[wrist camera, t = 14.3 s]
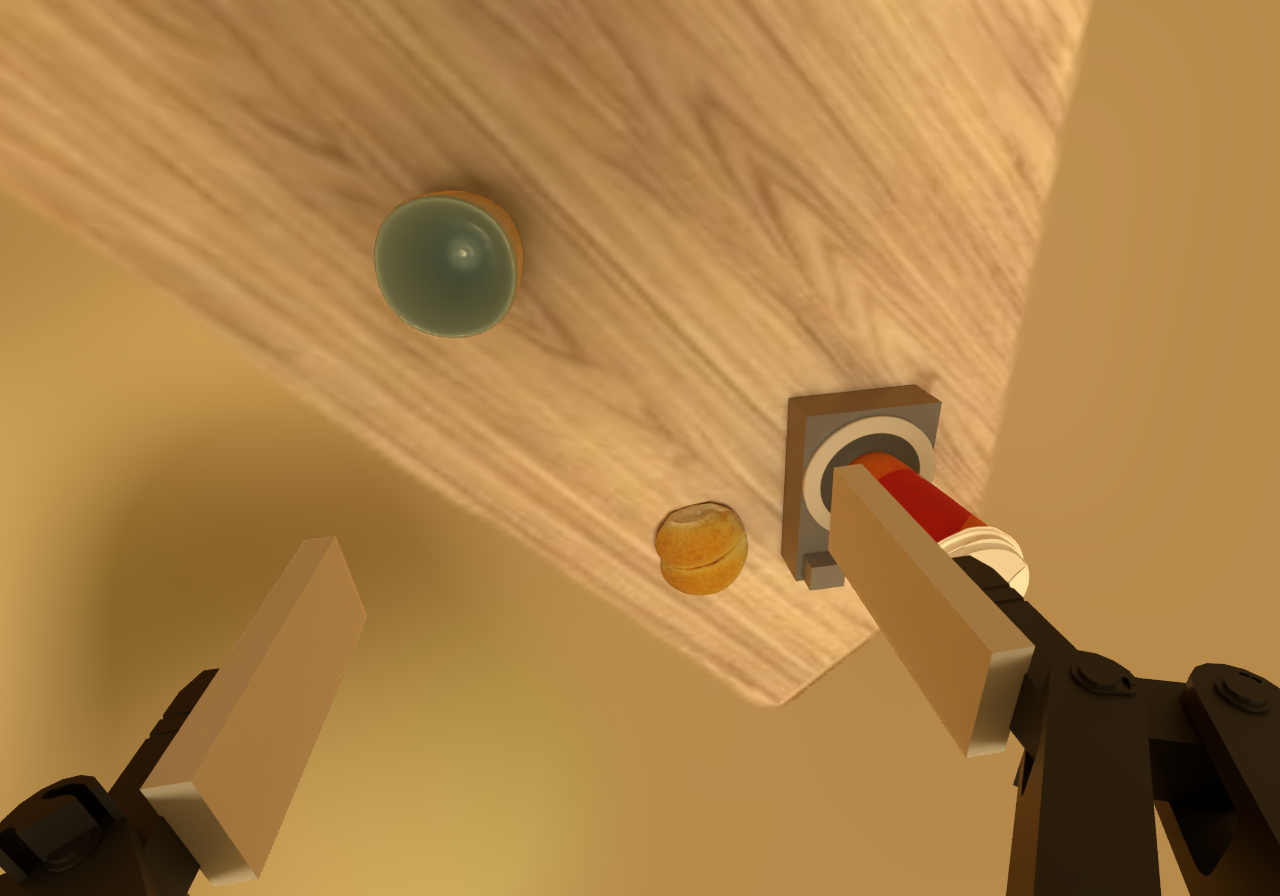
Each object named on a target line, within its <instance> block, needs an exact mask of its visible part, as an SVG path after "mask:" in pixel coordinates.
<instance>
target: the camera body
mask: <svg viewBox="0 0 1280 896" xmlns="http://www.w3.org/2000/svg"><path fill="white" fill-rule="evenodd" d="M941 403H942V402H941V401H939V400H938V399H936V398H935V397H933V396H932V395H930V394H929V393H927V392H925V391H924V390H922V389H921V388H919V387H918V386H916V385H908V386H898V387H889V388H880V389H870V390H861V391H852V392H842V393H833V394H824V395H814V396H805V397H796V398H789V404H788V424H787V445H786V466H785V486H784V507H783V527H782V548H781V555H782V557H783V559H784V560H785V562H786V564H787V566H788V568H789V569H790V571H791V573H792V575H793V577H794V579H795V580H796V581H801V580H804V581H805V583H806V584H807V586H808V588H809V590H818V589H825V588H833V587H840V586H844V579H845V575H844V573H843V572H842V570H841V569H840V567H839V566H838V564H837V563H836V561H835V560H834V558H833V557H832V555H831V554H830V552H829V551H828V544H829V530H830V516H831V502H832V488H833V474H834V467H841V466H847V465H848V464H849V463H850V462H851V461H853V460H854V459H855V458H857V457H859V456H861V455H863V454H866V453H870V452H884V453H888V454H890V455H892V456H894V457H895V458H897V459H898V460H900V461H901V462H903V463H904V464H906V465H907V466H908V467H910V468H911V469H912V470H914V471H915V472H917V473H918V474H919V475H921V476H922V477H923V478H925V479H926V480H927V481H929V482H930V483H931V482H932V480H933V475H934V470H935V456H934V451H933V450H934V444H935V438H936V433H937V427H938V421H939V415H940V409H941Z"/></svg>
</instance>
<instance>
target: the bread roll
mask: <svg viewBox="0 0 1280 896" xmlns="http://www.w3.org/2000/svg"><path fill="white" fill-rule="evenodd" d="M656 551H657V553H658V555H659V557H660V558H661V560H662V562H661V568H662V574H663V577H664V578H665V580H666V581H667V582H668V583H669V584H670V585H671V586H672V587H674V588H675V589H677V590H679V591H681V592H683V593H686V594H691V595H709V594H714V593H717V592H720V591H722V590H724V589H725V588H727V587H728V586H729V585H730V584H732V583H733V582H734V580H735V579H736V578H737V577H738V575H739V574H740V572H741V570H742V568H743V566H744V563H745V561H746V558H747V552H748V542H747V537H746V534H745V531H744V528H743V526H742V523H741V521H740V519H739V518H738V517H737V515H736V514H735V513H733V512H732V511H731V510H730V509H729V508H727V507H724V506H721V505H718V504H714V503H707V504H701V505H693V506H689V507H686V508H683V509H680V510H678V511H676V512H674V513H672V514H670V516H669V517H668V518H667V520H666V521H665V523H664V524H663V526H662V527H661V529H660V530H659V532H658V534H657V539H656Z"/></svg>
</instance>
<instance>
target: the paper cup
mask: <svg viewBox="0 0 1280 896" xmlns="http://www.w3.org/2000/svg"><path fill="white" fill-rule="evenodd" d="M856 464H862V465H863V466H864V467H865V468H866V469H867V470H868V471H869V472H870V473H871V474H872V475H873V476H874V477H875V479H876V480H877V481H878V482H879V483H880V484H881V485H882V486H883V487H884V488H885V489H886V490H887V491H888V492H889V493H890V494H891V495H892V496H893V497H894V498H895V500H896V501H897V502H898V503H899V504H900V505H901V506H902V507H903V508H904V509H905V510H906V511H907V512H908V513H909V514H910V515H911V516H912V517H913V518H914V519H915V521H916V522H917V523H918V524H919V525H920V526H921V527H922V528H923V529H924V530H925V531H926V532H927V533H928V534H929V535H930V536H931V537H932V538H933V539H934V540H935V542H936V543H937V544H938V545H939V546H940V547H941V548H942V549H943V550H944V551H945V552H946V553H947V554H948V555H949V556H950V557H951V558H953V557H960V556H967V555H970V556H972V557H974V558H976V559H978V560H980V561H981V562H983V563H985V564H987V565H989V566H990V567H992V568H994V569H995V570H996V571H997V572H998V573H999V574H1000V575H1001V576H1002V577H1003V578H1004V579H1005V580H1006V581H1007V582H1008V583H1009V584H1010V587H1011V588H1014V589H1015V590H1016V591H1017V592H1018V593H1019V594H1020V595H1021V596H1022V597H1023V596H1024V594H1025V592H1026V590H1027V587H1028V582H1029V572H1028V566H1027V564H1026V562H1025V561H1024V559H1023V555H1022V551H1021V549H1020V547H1019V545H1018V544H1017V542H1016V541H1015V540H1014V539H1013V538H1012V537H1010V536H1009V535H1008V534H1006V533H1004V532H1002V531H1000V530H998V529H997V528H995V527H989V526H987V525H986V524H985V523H983V522H982V521H981V520H979V519H978V518H977V517H975V516H974V515H973V514H971V513H970V512H969V511H967V510H966V509H965V508H963V507H962V506H961V505H959V504H958V503H957V502H955V501H954V500H953V499H951V498H950V497H949V496H947V495H946V494H945V493H943V492H942V491H941V490H939V489H938V488H937V487H935V486H934V485H933V484H931V483H930V482H929V481H927V480H926V479H925V478H923V477H922V476H921V475H919V474H918V473H917V472H915V471H914V470H912V469H911V468H910V467H908V466H907V465H906V464H904V463H903V462H901V461H900V460H898V459H897V458H895V457H894V456H892V455H890V454H888V453H884V452H870V453H866V454H863V455H861V456H859V457H857V458H855V459H854V460H853V461H851V462H850V463H849V464H848V465H847V466H849V465H856Z"/></svg>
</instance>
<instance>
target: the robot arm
mask: <svg viewBox="0 0 1280 896" xmlns="http://www.w3.org/2000/svg"><path fill="white" fill-rule="evenodd" d="M828 551H829V552H830V554H831V555H832V557H833V558H834V560H835V561H836V563H837V564H838V566H839V567H840V569H841V570H842V572H843V573H844V575H845V576H846V578H847V579H848V581H849V582H850V584H851V585H852V587H853V588H854V590H855V591H856V593H857V594H858V596H859V598H860V599H861V601H862V602H863V604H864V605H865V607H866V608H867V610H868V611H869V613H870V614H871V616H872V617H873V619H874V620H875V622H876V623H877V625H878V626H879V628H880V629H881V631H882V632H883V634H884V635H885V637H886V638H887V640H888V641H889V643H890V644H891V646H892V647H893V648H894V650H895V652H896V653H897V655H898V656H899V658H900V659H901V661H902V662H903V664H904V665H905V667H906V668H907V670H908V671H909V673H910V674H911V676H912V677H913V679H914V680H915V682H916V683H917V685H918V686H919V688H920V689H921V691H922V692H923V694H924V695H925V697H926V698H927V700H928V701H929V703H930V704H931V706H932V708H933V709H934V711H935V712H936V714H937V715H938V717H939V718H940V720H941V721H942V723H943V724H944V726H945V727H946V729H947V730H948V732H949V733H950V735H951V736H952V738H953V739H954V741H955V742H956V744H957V745H958V747H959V748H960V750H961V751H962V753H963V754H964V756H965V757H966V758H969V757H975V756H981V755H987V754H993V753H998V752H1004V750H1005V746H1006V743H1007V740H1008V737H1009V733H1010V730H1011V731H1012V733H1013V734H1014V735H1015V736H1016V738H1017V739H1018V740H1019V742H1020V743H1021V744H1022V746H1023V747H1024V748H1025V749H1024V752H1023V755H1022V758H1021V762H1020V765H1019V768H1018V771H1017V774H1016V777H1015V780H1014V784H1013V785H1014V786H1017V787H1018V793H1017V802H1016V811H1015V820H1014V830H1013V838H1012V846H1011V856H1010V864H1009V874H1008V883H1007V891H1006V896H1161V888H1160V876H1159V864H1158V850H1157V839H1156V827H1155V814H1154V804H1155V807H1156V810H1157V812H1158V815H1159V817H1160V820H1161V822H1162V825H1163V827H1164V830H1165V833H1166V835H1167V838H1168V840H1169V843H1170V845H1171V848H1172V850H1173V853H1174V855H1175V858H1176V860H1177V863H1178V865H1179V868H1180V871H1181V873H1182V876H1183V878H1184V881H1185V883H1186V886H1187V888H1188V891H1189V893H1190V896H1280V688H1278V687H1277V686H1275V685H1274V684H1272V683H1271V682H1269V681H1268V680H1266V679H1265V678H1263V677H1260V676H1258V675H1255V674H1253V673H1251V672H1249V671H1247V670H1244V669H1241V668H1237V667H1233V666H1230V665H1226V664H1212V663H1206V664H1203V665H1200V666H1197V667H1195V668H1194V670H1193V671H1192V673H1191V674H1190V676H1189V678H1188V681H1187V683H1181V682H1171V681H1162V680H1152V679H1143V678H1137V677H1134V676H1133V675H1132V674H1131V673H1130V671H1129V670H1127V669H1126V668H1124V667H1122V666H1121V665H1119V664H1118V663H1116V662H1115V661H1113V660H1111V659H1108V658H1106V657H1103V656H1101V655H1098V654H1095V653H1090V652H1085V651H1079V650H1077V649H1076V648H1075V647H1074V646H1073V645H1072V644H1071V643H1070V642H1069V641H1068V640H1067V639H1066V638H1064V636H1063V635H1061V634H1060V633H1059V632H1058V631H1057V630H1056V629H1055V628H1054V627H1053V626H1052V625H1051V624H1050V623H1049V622H1048V621H1047V620H1046V619H1045V618H1044V617H1043V616H1042V615H1041V614H1040V613H1039V612H1038V611H1036V609H1035V608H1034V607H1033V606H1032V605H1030V603H1029V602H1028V601H1024V599H1023V597H1022V596H1021V595H1020V594H1019V593H1018V592H1017V591H1016V590H1015V589H1014V588H1011V587H1010V584H1009V583H1008V582H1007V581H1006V580H1005V579H1004V578H1003V577H1002V576H1001V575H1000V574H999V573H998V572H997V571H996V570H995V569H994V568H992V567H990V566H989V565H987V564H985V563H983V562H981V561H980V560H978V559H976V558H974V557H972V556H970V555H967V556H960V557H953V558H951V557H950V556H949V555H948V554H947V553H946V552H945V551H944V550H943V549H942V548H941V547H940V546H939V545H938V544H937V543H936V542H935V540H934V539H933V538H932V537H931V536H930V535H929V534H928V533H927V532H926V531H925V530H924V529H923V528H922V527H921V526H920V525H919V524H918V523H917V522H916V521H915V519H914V518H913V517H912V516H911V515H910V514H909V513H908V512H907V511H906V510H905V509H904V508H903V507H902V506H901V505H900V504H899V503H898V502H897V501H896V500H895V498H894V497H893V496H892V495H891V494H890V493H889V492H888V491H887V490H886V489H885V488H884V487H883V486H882V485H881V484H880V483H879V482H878V481H877V480H876V479H875V477H874V476H873V475H872V474H871V473H870V472H869V471H868V470H867V469H866V468H865V467H864V466H863V465H862V464H856V465H849V466H841V467H834V474H833V488H832V502H831V516H830V530H829V544H828ZM366 620H367V615H366V612H365V609H364V607H363V604H362V602H361V599H360V597H359V594H358V592H357V589H356V587H355V584H354V581H353V579H352V576H351V574H350V571H349V569H348V566H347V564H346V561H345V558H344V556H343V553H342V551H341V548H340V546H339V543H338V541H337V538H336V536H330V537H323V538H316V539H308V540H304V542H303V543H302V545H301V546H300V548H299V549H298V551H297V552H296V554H295V555H294V557H293V559H292V560H291V562H290V563H289V565H288V566H287V568H286V569H285V571H284V572H283V574H282V575H281V577H280V578H279V580H278V581H277V583H276V584H275V586H274V587H273V589H272V590H271V592H270V593H269V595H268V596H267V598H266V599H265V601H264V602H263V604H262V605H261V607H260V608H259V610H258V612H257V613H256V615H255V616H254V618H253V619H252V621H251V622H250V624H249V625H248V627H247V628H246V630H245V631H244V633H243V634H242V636H241V637H240V639H239V640H238V642H237V643H236V645H235V646H234V648H233V649H232V651H231V652H230V654H229V655H228V657H227V658H226V660H225V662H224V663H223V664H222V666H221V667H220V668H218V669H211V670H204V671H203V672H201V673H200V674H199V675H198V676H197V677H196V678H195V679H194V680H193V681H191V682H190V683H189V684H188V685H187V686H186V687H185V688H183V689H182V690H181V691H180V692H179V693H178V695H177V696H176V697H175V699H174V700H173V702H172V703H171V705H170V706H169V707H168V709H167V710H166V712H165V713H164V714H163V719H161V720H159V721H158V723H157V724H156V726H155V727H154V729H153V730H152V731H151V733H150V738H149V739H146V740H145V741H144V743H143V744H142V746H141V747H140V748H139V750H138V751H137V753H136V754H135V756H134V757H133V758H132V760H131V761H130V763H129V764H128V765H127V767H126V768H125V770H124V771H123V772H122V774H121V775H120V777H119V778H118V779H117V781H116V782H115V784H114V785H113V787H112V788H111V790H110V791H109V792H108V793H107V792H106V791H105V789H104V788H103V787H102V786H101V784H100V783H99V782H98V781H97V780H96V778H95V777H93V776H85V775H79V776H75V777H71V778H66V779H62V780H60V781H58V782H56V783H54V784H52V785H50V786H48V787H46V788H43V789H41V790H40V791H38V792H37V793H35V794H34V795H32V796H31V797H29V798H28V799H26V800H25V801H23V802H22V803H21V804H19V805H18V806H17V807H16V808H15V809H14V810H13V811H12V812H11V813H10V814H9V815H7V816H6V817H5V818H4V819H3V820H2V821H1V823H0V867H1V868H2V869H3V870H4V871H5V872H6V873H5V874H2V875H0V896H189V894H188V893H187V892H188V890H189V888H190V886H191V884H192V882H193V880H194V878H195V876H196V874H197V872H198V870H199V869H200V870H201V871H202V872H203V874H204V875H205V876H206V878H207V879H208V880H209V882H210V883H211V884H212V886H213V887H217V886H223V885H229V884H235V883H240V882H246V881H252V880H258V879H259V877H260V874H261V872H262V870H263V867H264V865H265V862H266V860H267V858H268V855H269V853H270V850H271V848H272V845H273V843H274V841H275V838H276V836H277V834H278V831H279V829H280V826H281V824H282V822H283V819H284V817H285V814H286V812H287V810H288V807H289V805H290V802H291V800H292V798H293V795H294V793H295V790H296V788H297V786H298V783H299V781H300V778H301V776H302V774H303V771H304V769H305V766H306V764H307V762H308V759H309V757H310V754H311V752H312V750H313V747H314V745H315V742H316V740H317V738H318V735H319V733H320V730H321V728H322V726H323V723H324V721H325V718H326V716H327V714H328V711H329V709H330V706H331V704H332V702H333V699H334V697H335V694H336V692H337V690H338V687H339V685H340V682H341V680H342V677H343V675H344V673H345V670H346V668H347V666H348V663H349V661H350V658H351V656H352V653H353V651H354V649H355V646H356V644H357V642H358V639H359V637H360V634H361V632H362V630H363V627H364V625H365V623H366Z"/></svg>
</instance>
